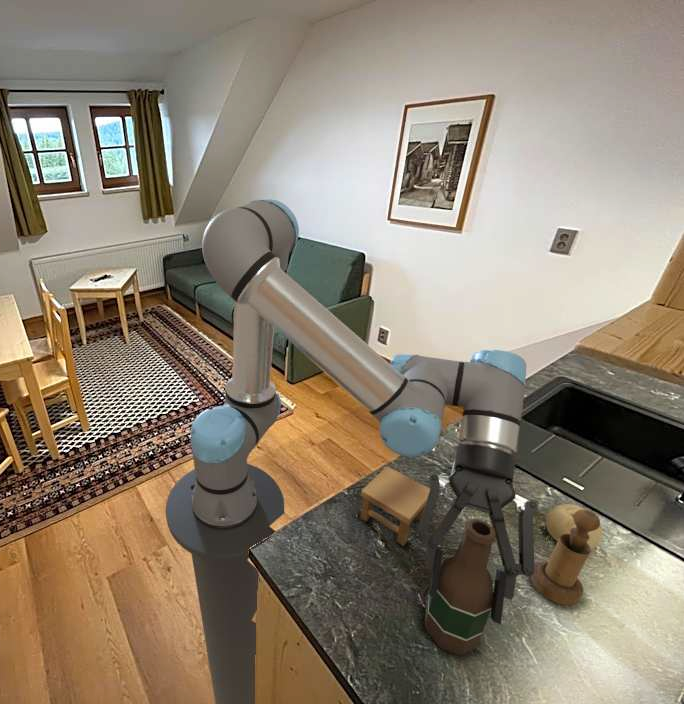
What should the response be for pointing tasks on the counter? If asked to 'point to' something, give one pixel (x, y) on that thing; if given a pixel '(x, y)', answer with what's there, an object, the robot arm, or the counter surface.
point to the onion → (568, 523)
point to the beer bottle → (463, 592)
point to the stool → (394, 500)
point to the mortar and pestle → (566, 562)
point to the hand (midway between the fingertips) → (462, 607)
